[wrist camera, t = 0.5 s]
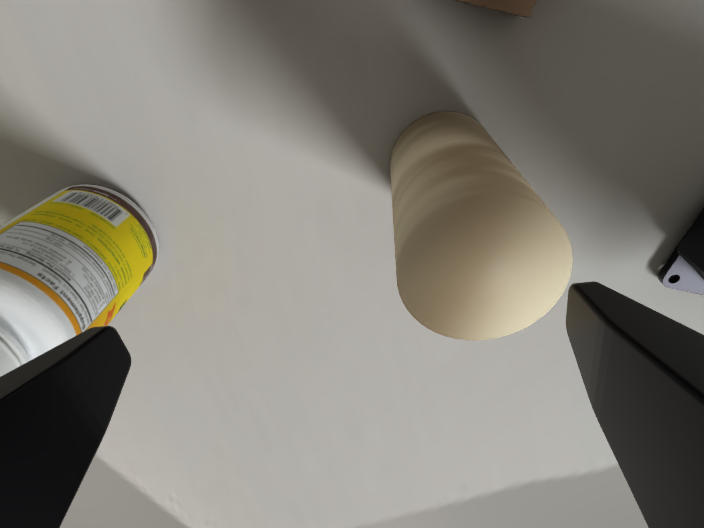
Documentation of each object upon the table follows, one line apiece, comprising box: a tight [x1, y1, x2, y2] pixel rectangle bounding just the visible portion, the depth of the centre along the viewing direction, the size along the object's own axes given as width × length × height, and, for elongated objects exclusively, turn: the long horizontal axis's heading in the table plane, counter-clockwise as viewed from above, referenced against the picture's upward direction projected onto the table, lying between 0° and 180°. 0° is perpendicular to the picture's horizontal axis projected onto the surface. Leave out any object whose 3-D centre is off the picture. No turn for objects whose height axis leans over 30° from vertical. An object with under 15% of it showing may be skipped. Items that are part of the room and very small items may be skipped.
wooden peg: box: [390, 111, 573, 340], centre depth 15 cm, size 4×4×9 cm
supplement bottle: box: [0, 184, 159, 377], centre depth 18 cm, size 6×6×10 cm
